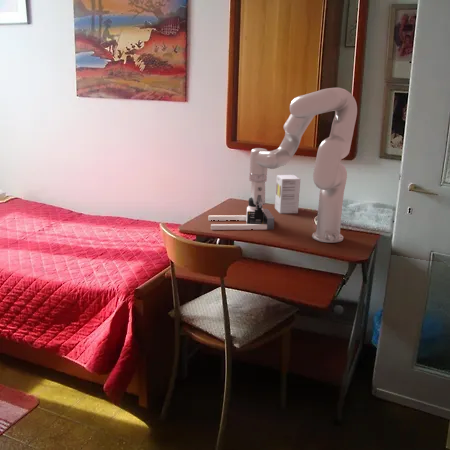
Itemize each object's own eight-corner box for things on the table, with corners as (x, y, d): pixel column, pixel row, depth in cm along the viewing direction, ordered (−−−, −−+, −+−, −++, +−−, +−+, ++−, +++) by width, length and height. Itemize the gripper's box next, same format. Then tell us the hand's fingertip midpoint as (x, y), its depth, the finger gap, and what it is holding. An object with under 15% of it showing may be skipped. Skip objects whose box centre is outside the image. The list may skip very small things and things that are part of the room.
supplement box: (274, 208, 263) (276, 174, 258) (292, 207, 264) (294, 174, 259) (279, 213, 254) (282, 178, 249) (298, 213, 255) (300, 178, 251)
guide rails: (266, 229, 229) (267, 224, 229) (211, 229, 227) (211, 225, 226) (260, 219, 244) (261, 215, 243) (208, 219, 241) (208, 215, 240)
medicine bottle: (246, 226, 233) (247, 199, 229) (246, 221, 240) (247, 195, 236) (263, 226, 233) (264, 200, 229) (262, 222, 240) (263, 196, 236)
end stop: (273, 229, 230) (274, 218, 228) (266, 229, 229) (267, 218, 228) (267, 219, 244) (267, 208, 242) (260, 219, 244) (261, 208, 242)
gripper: (270, 181, 222) (268, 221, 227) (263, 173, 239) (261, 210, 244) (252, 181, 221) (250, 221, 226) (246, 173, 238) (245, 210, 243)
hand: (256, 215), depth 235 cm, fingers open, 9 cm apart
